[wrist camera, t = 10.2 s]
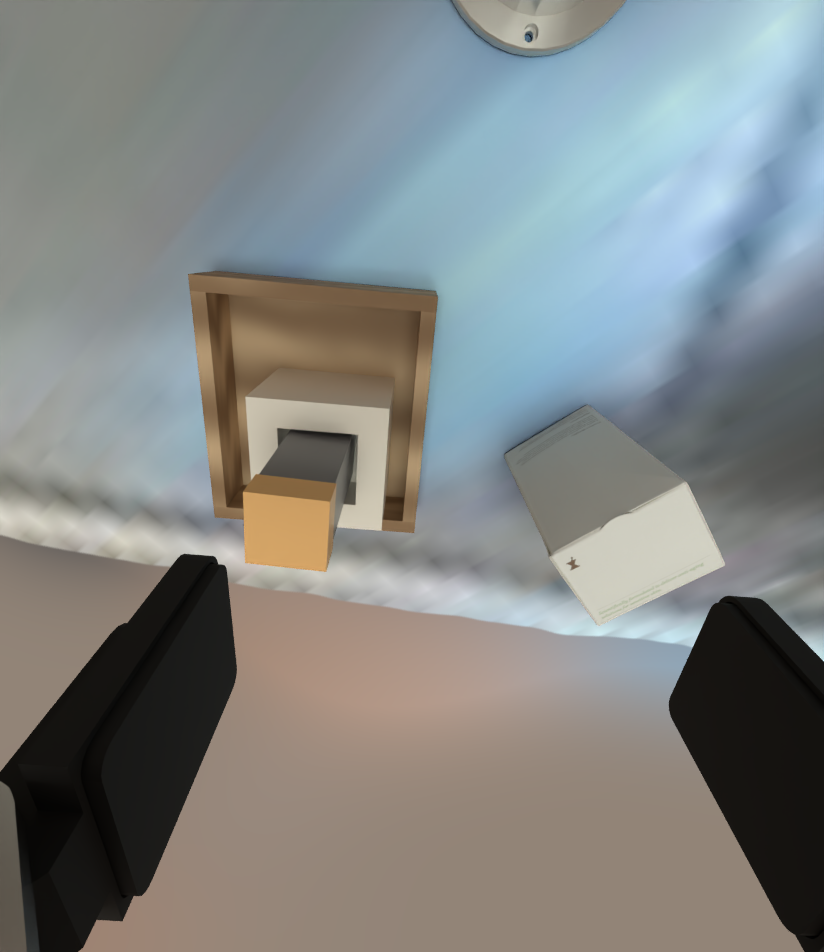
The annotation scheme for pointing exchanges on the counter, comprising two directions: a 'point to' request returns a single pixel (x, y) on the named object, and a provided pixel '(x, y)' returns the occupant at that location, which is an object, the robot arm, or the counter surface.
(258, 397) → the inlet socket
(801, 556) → the counter surface
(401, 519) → the crate
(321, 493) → the square peg
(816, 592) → the counter surface
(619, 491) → the skincare box
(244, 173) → the counter surface
